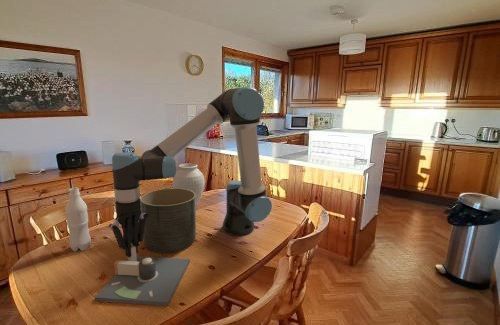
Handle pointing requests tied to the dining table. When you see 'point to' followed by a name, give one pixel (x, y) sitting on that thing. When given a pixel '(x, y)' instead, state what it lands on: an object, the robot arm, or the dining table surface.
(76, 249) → the water bottle
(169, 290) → the dial board
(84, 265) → the dining table surface
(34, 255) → the dining table surface
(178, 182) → the vase
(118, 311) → the dining table surface
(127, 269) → the peg lever
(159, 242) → the planter
